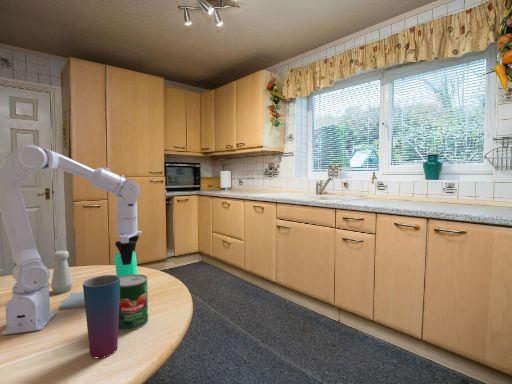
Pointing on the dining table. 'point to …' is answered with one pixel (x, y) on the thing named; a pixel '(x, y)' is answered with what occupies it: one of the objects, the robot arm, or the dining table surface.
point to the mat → (74, 301)
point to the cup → (102, 313)
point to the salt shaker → (61, 273)
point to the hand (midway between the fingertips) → (128, 261)
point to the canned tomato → (133, 302)
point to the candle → (125, 266)
